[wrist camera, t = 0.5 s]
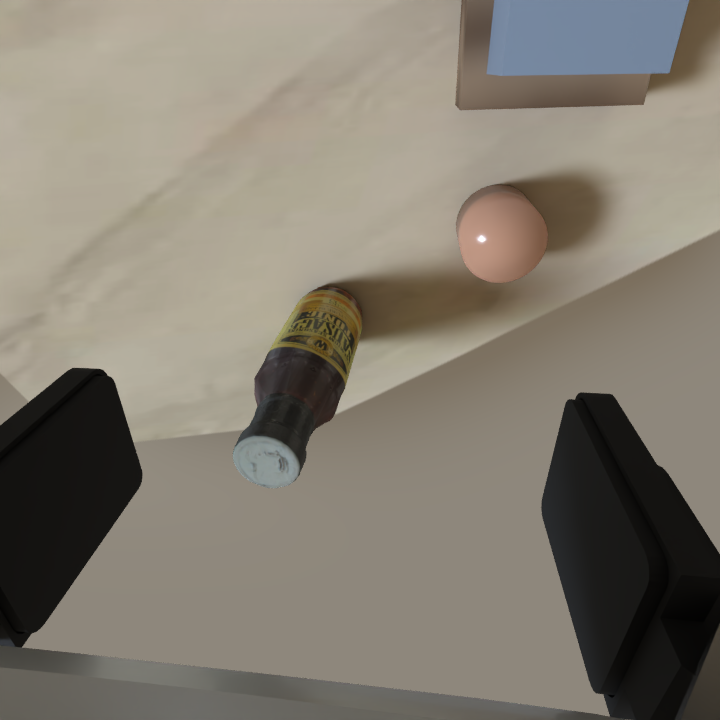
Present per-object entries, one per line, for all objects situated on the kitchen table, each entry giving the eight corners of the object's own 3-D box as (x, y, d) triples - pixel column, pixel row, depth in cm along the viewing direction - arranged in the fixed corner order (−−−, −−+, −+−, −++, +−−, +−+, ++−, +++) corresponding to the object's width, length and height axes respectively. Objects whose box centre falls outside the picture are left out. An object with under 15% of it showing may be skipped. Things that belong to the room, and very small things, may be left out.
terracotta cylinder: (458, 185, 37) (463, 200, 33) (538, 183, 37) (554, 199, 32) (453, 259, 40) (458, 282, 36) (527, 259, 40) (540, 282, 35)
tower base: (467, -102, 29) (476, -131, 25) (661, -117, 28) (705, -149, 24) (454, 104, 35) (460, 110, 30) (614, 99, 34) (643, 104, 29)
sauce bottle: (376, 302, 43) (350, 456, 26) (345, 354, 46) (304, 520, 29) (310, 268, 42) (239, 405, 25) (283, 322, 45) (203, 477, 28)
